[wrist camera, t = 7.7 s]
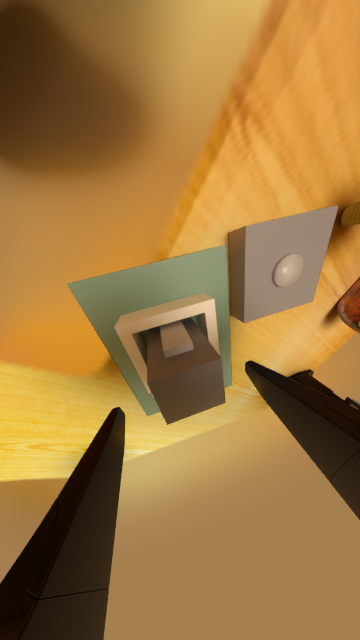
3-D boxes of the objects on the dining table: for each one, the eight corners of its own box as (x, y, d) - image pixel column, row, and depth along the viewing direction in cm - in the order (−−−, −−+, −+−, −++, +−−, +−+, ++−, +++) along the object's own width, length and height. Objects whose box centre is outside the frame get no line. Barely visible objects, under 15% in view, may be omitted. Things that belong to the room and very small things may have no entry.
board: (228, 379, 22) (242, 400, 18) (147, 408, 20) (147, 436, 17) (219, 246, 13) (244, 241, 9) (74, 281, 11) (44, 289, 8)
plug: (195, 347, 16) (225, 402, 9) (160, 358, 15) (167, 424, 9) (188, 309, 13) (221, 350, 7) (146, 321, 13) (143, 376, 7)
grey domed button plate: (291, 296, 17) (316, 302, 15) (231, 314, 16) (246, 324, 14) (307, 214, 13) (345, 202, 11) (228, 232, 12) (249, 225, 10)
